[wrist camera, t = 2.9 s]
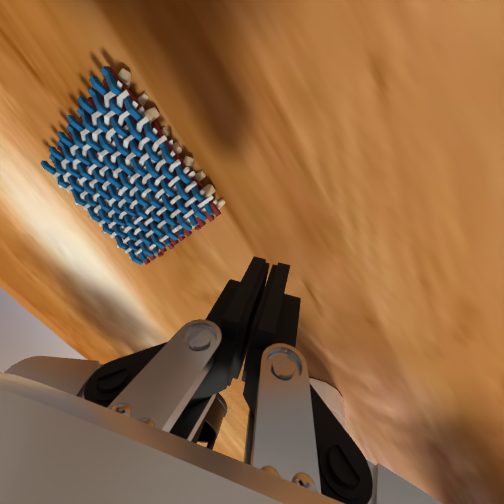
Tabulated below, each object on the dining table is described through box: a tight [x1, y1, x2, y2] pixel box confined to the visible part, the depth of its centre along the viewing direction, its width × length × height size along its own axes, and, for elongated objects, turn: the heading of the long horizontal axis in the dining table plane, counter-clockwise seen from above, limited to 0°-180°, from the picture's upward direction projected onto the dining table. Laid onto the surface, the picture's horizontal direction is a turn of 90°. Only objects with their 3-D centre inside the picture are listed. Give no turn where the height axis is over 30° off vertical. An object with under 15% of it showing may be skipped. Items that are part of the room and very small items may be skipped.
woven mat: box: [41, 66, 226, 265], centre depth 17 cm, size 10×11×2 cm
